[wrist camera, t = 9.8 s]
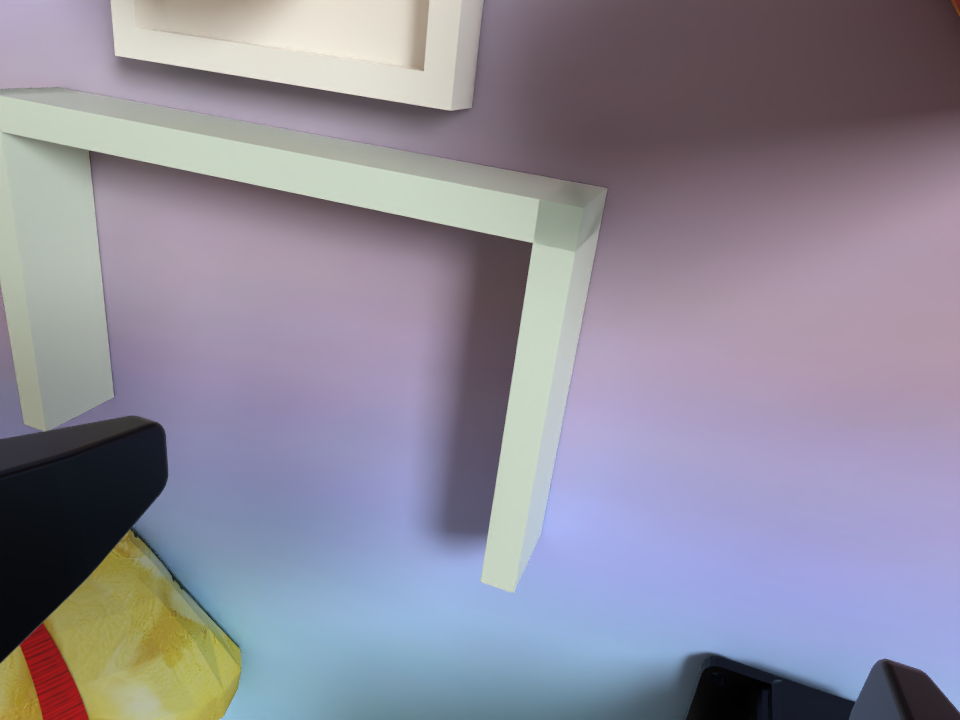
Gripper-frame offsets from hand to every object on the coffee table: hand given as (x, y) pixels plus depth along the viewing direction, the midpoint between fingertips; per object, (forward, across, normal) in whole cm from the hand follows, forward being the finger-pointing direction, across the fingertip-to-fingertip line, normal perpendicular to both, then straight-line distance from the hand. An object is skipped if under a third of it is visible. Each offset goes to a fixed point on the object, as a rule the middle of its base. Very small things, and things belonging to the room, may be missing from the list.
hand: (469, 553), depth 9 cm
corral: (+12, +10, +3) cm, 16 cm away
